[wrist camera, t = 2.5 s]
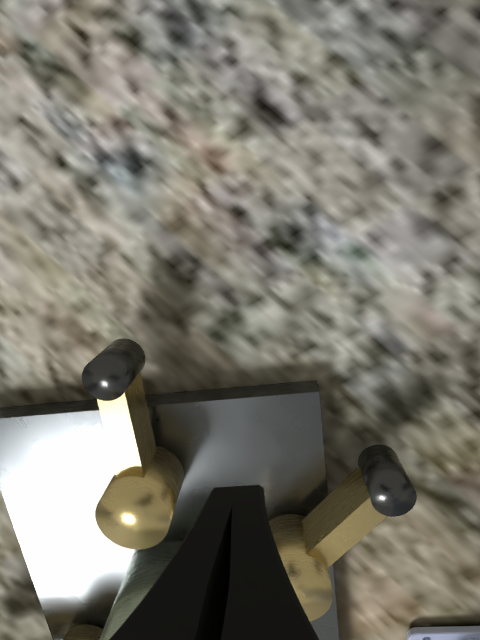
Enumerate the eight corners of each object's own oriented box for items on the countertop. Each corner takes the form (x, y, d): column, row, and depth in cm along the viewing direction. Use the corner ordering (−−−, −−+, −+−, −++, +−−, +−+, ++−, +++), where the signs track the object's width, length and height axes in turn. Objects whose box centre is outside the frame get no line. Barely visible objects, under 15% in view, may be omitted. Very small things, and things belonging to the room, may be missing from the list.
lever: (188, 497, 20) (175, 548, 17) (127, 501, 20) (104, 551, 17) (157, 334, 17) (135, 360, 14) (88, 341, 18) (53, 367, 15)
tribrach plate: (316, 380, 19) (339, 463, 13) (341, 694, 25) (366, 853, 19) (-8, 408, 21) (-123, 493, 15) (88, 696, 27) (35, 843, 21)
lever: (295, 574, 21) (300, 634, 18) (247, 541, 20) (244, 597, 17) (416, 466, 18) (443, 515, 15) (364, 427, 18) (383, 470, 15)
